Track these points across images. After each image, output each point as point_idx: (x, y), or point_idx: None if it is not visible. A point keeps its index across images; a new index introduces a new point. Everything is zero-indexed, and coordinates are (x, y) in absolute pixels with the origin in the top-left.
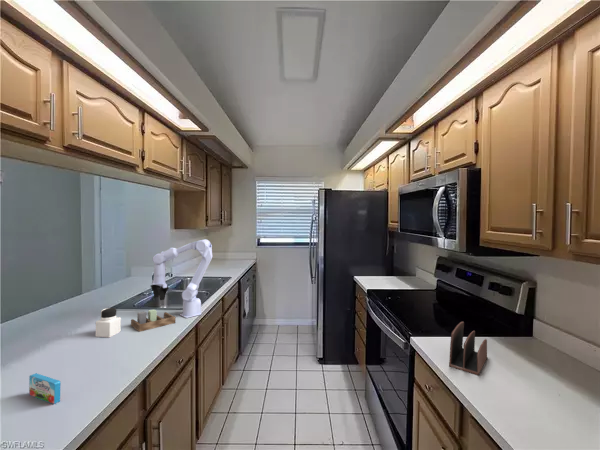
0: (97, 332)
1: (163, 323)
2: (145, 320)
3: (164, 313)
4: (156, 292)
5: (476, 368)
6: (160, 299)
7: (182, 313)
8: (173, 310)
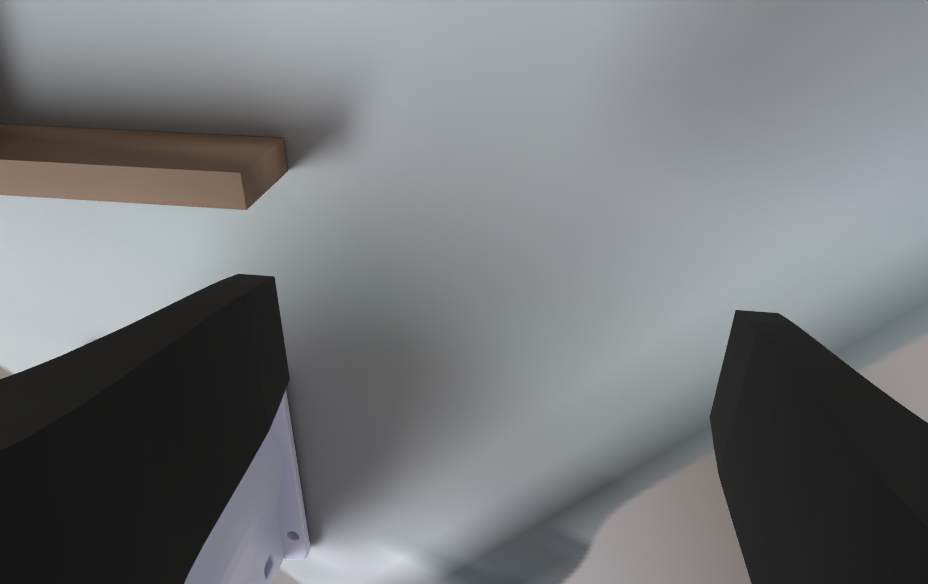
0: None
1: None
2: None
3: (220, 167)
4: (782, 499)
5: None
6: (218, 282)
7: (282, 416)
8: (590, 430)
